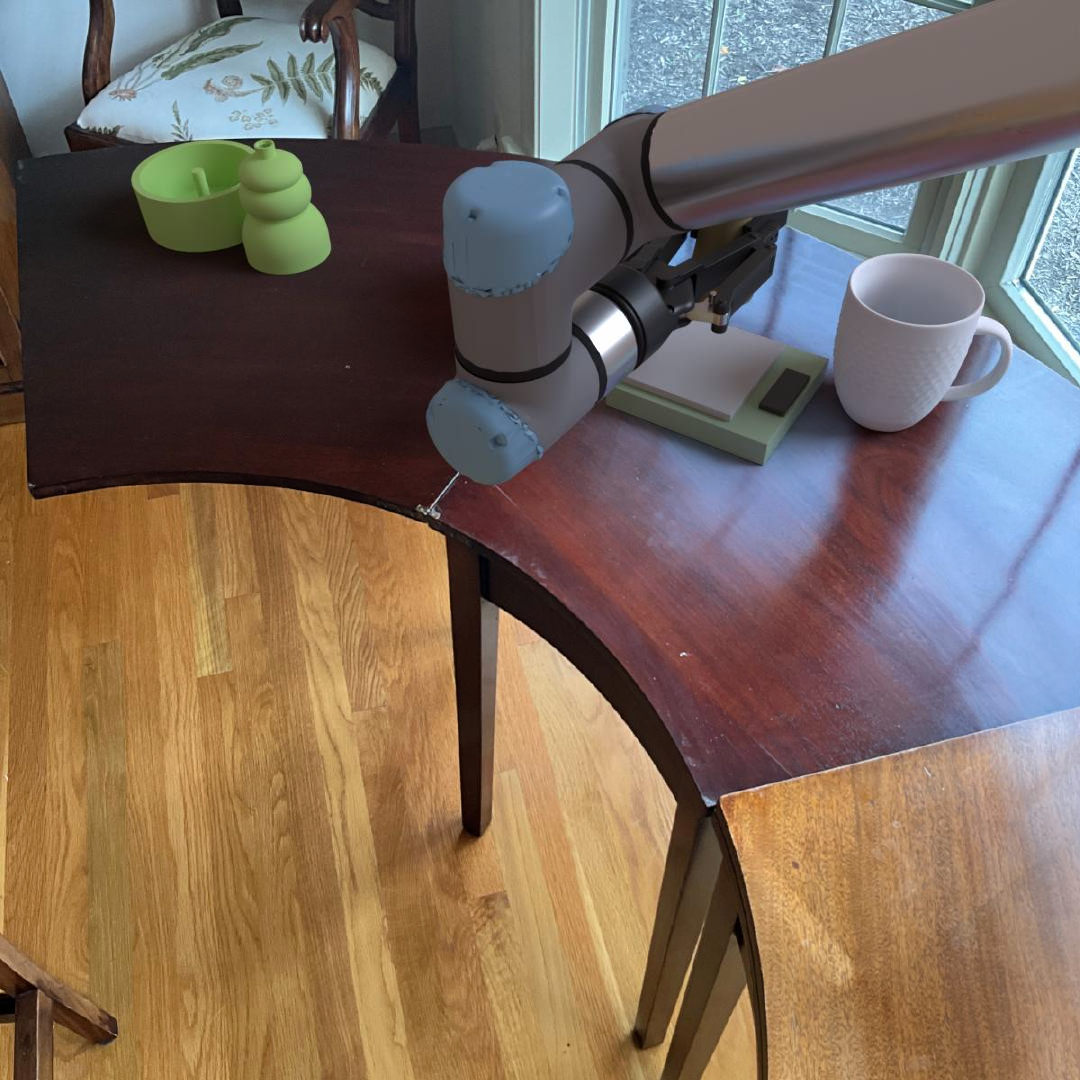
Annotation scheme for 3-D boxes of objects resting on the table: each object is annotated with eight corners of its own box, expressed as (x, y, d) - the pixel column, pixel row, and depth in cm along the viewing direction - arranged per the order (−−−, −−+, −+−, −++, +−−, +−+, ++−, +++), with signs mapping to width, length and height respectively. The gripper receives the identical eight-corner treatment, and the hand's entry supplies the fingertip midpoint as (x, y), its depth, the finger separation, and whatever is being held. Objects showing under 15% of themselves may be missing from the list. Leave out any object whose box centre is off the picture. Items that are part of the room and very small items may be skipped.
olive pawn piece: (713, 317, 84) (728, 196, 76) (669, 284, 87) (680, 164, 79) (768, 294, 86) (789, 174, 78) (723, 262, 89) (739, 143, 81)
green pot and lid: (122, 228, 117) (83, 123, 108) (216, 176, 125) (187, 74, 116) (271, 295, 107) (243, 185, 98) (363, 234, 115) (345, 128, 106)
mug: (980, 382, 94) (1026, 260, 85) (993, 460, 87) (1045, 337, 77) (819, 367, 97) (846, 246, 87) (819, 442, 89) (848, 320, 80)
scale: (824, 379, 95) (831, 351, 93) (763, 466, 87) (768, 438, 85) (675, 328, 101) (677, 301, 99) (605, 404, 94) (606, 377, 91)
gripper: (510, 333, 79) (671, 209, 91) (695, 417, 72) (843, 270, 84) (506, 250, 74) (678, 129, 86) (705, 331, 66) (862, 187, 78)
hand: (759, 199), depth 85 cm, fingers closed on olive pawn piece, 4 cm apart
